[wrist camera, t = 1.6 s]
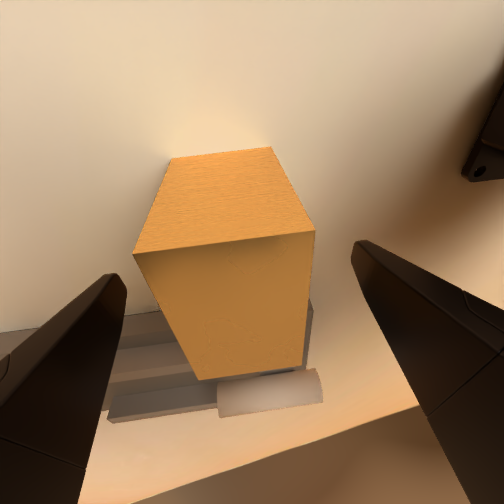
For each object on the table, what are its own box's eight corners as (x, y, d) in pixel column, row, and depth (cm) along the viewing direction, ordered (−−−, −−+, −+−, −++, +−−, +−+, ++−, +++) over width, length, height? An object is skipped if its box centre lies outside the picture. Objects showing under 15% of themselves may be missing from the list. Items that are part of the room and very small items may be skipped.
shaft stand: (306, 291, 16) (333, 364, 12) (299, 363, 22) (316, 426, 19) (-43, 339, 15) (-126, 431, 12) (54, 399, 22) (20, 471, 18)
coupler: (171, 158, 10) (131, 253, 5) (270, 146, 10) (315, 230, 5) (204, 271, 14) (198, 380, 9) (274, 262, 14) (301, 365, 10)
